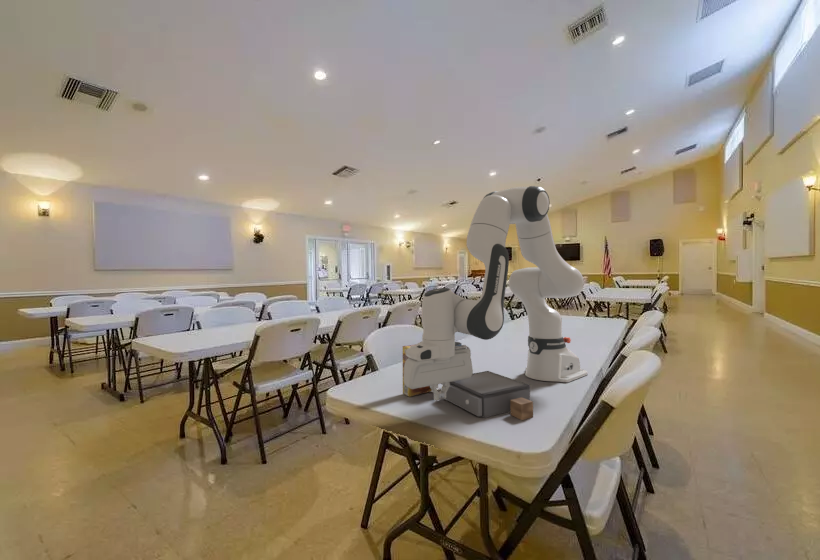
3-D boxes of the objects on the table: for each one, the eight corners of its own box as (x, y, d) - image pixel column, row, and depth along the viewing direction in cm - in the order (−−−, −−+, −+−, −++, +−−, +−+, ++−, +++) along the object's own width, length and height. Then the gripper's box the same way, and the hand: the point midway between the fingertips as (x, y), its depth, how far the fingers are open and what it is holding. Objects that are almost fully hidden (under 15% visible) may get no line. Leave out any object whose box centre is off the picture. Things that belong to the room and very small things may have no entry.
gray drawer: (482, 390, 118) (482, 375, 118) (521, 406, 104) (521, 389, 103) (442, 398, 111) (441, 383, 111) (477, 417, 96) (476, 399, 96)
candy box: (410, 397, 114) (408, 347, 114) (402, 394, 118) (401, 345, 117) (433, 391, 119) (431, 344, 119) (424, 388, 123) (423, 342, 123)
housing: (488, 389, 120) (487, 370, 120) (530, 406, 104) (529, 385, 104) (446, 398, 113) (446, 378, 113) (484, 417, 97) (484, 394, 97)
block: (521, 412, 100) (521, 397, 100) (533, 417, 97) (532, 401, 97) (510, 415, 98) (510, 399, 98) (521, 420, 95) (521, 404, 95)
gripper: (463, 342, 109) (464, 389, 109) (400, 350, 99) (401, 402, 100) (476, 345, 103) (478, 395, 103) (411, 355, 94) (412, 410, 94)
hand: (440, 399), depth 101 cm, fingers closed
